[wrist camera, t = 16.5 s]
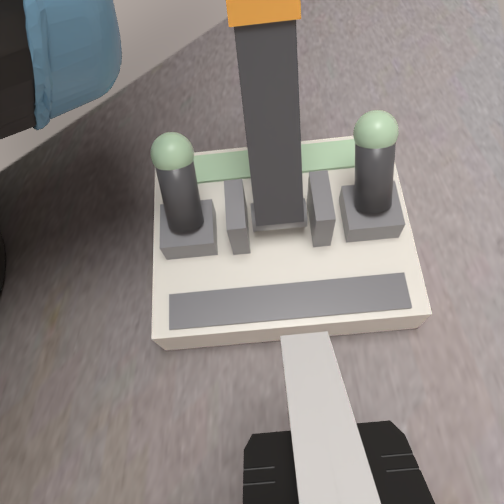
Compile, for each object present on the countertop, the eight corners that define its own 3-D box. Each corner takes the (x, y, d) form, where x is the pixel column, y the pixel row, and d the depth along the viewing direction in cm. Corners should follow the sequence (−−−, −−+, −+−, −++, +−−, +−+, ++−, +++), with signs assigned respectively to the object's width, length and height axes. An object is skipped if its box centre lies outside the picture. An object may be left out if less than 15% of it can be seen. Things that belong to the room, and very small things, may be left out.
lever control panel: (165, 350, 27) (111, 306, 19) (166, 181, 32) (124, 88, 24) (417, 328, 26) (475, 272, 18) (378, 160, 31) (410, 56, 23)
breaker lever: (254, 241, 25) (221, -42, 17) (253, 219, 27) (222, -42, 19) (308, 235, 24) (298, -51, 17) (303, 214, 26) (292, -51, 19)
